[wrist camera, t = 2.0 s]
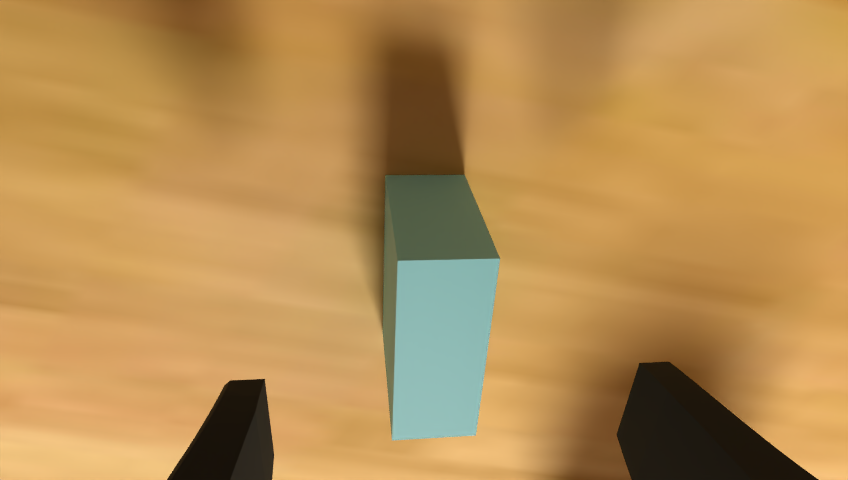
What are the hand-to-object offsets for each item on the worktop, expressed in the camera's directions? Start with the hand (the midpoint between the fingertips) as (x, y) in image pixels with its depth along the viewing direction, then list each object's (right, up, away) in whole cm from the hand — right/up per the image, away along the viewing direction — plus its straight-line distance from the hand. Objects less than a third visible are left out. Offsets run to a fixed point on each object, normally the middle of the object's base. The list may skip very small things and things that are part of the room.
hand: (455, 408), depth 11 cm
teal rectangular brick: (-1, +3, +5) cm, 6 cm away
